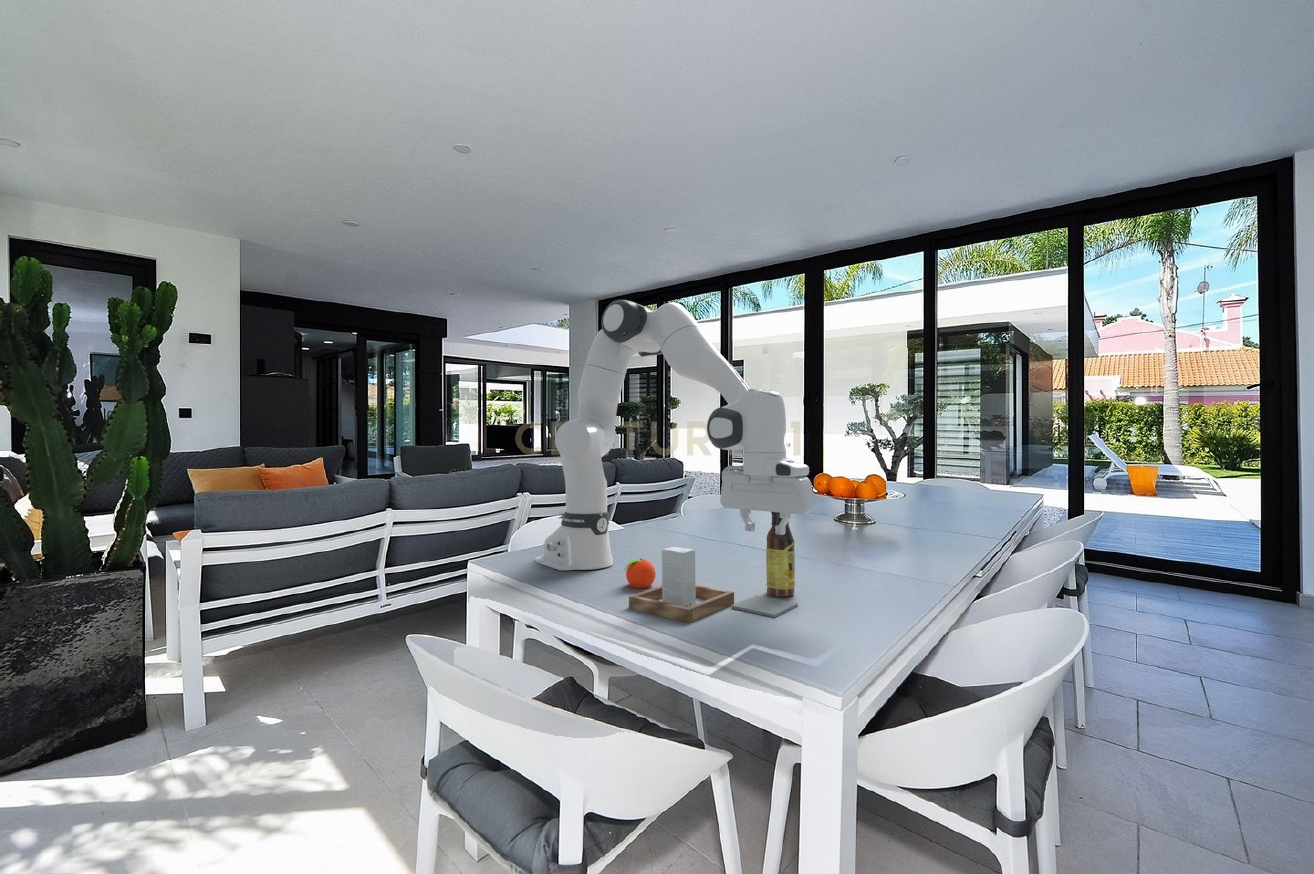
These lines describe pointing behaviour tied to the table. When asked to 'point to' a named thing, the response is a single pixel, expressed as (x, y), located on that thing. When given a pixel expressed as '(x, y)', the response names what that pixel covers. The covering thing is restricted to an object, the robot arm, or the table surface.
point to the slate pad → (764, 606)
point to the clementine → (640, 573)
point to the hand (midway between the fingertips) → (764, 532)
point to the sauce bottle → (780, 560)
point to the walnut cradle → (685, 614)
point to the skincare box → (678, 576)
